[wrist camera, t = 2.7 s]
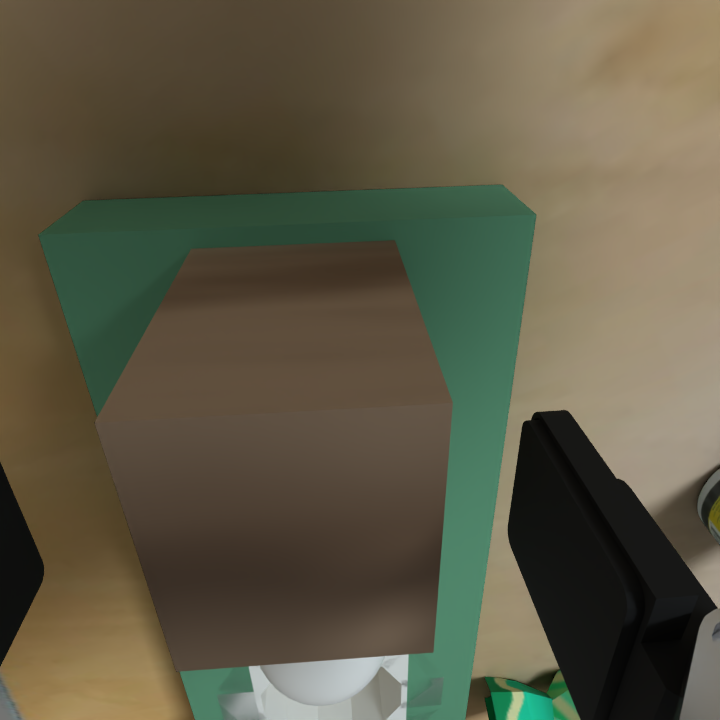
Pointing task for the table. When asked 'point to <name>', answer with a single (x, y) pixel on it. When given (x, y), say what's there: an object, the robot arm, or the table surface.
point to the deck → (449, 340)
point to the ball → (322, 679)
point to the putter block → (285, 457)
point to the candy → (529, 701)
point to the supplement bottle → (711, 505)
